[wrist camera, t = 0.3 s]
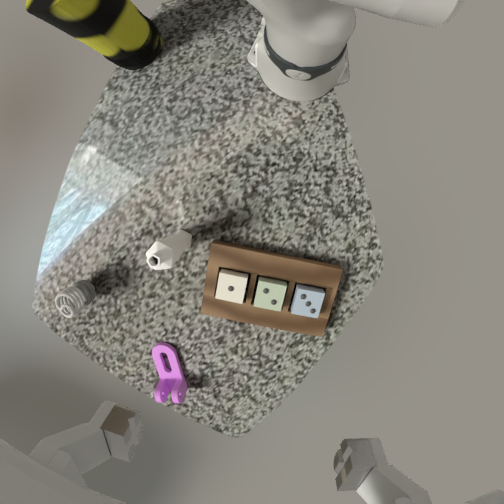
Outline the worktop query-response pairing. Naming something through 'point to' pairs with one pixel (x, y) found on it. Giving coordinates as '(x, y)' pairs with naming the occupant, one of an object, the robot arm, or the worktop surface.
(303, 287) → the tile
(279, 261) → the dice board
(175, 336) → the worktop surface
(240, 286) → the tile
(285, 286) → the tile
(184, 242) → the white faceted bottle
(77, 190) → the worktop surface
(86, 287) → the light bulb
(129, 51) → the container
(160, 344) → the bracket
